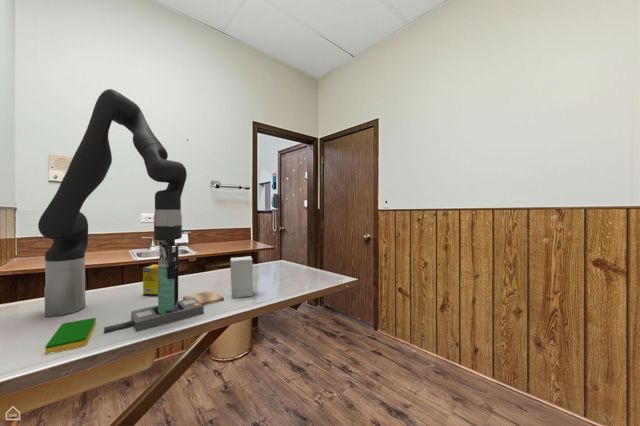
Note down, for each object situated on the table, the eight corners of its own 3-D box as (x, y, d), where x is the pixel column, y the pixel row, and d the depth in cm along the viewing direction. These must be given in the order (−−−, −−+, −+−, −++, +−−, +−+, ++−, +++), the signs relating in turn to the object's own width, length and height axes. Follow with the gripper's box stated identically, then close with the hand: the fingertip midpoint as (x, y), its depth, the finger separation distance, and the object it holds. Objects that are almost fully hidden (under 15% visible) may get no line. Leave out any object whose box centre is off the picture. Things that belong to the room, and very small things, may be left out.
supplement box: (157, 296, 97) (157, 268, 97) (142, 295, 98) (142, 267, 97) (167, 291, 103) (167, 264, 103) (153, 290, 103) (152, 264, 103)
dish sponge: (96, 325, 75) (96, 317, 74) (85, 347, 63) (85, 337, 63) (62, 331, 71) (62, 323, 71) (44, 356, 59) (44, 346, 59)
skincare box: (251, 291, 104) (252, 255, 104) (253, 296, 98) (253, 258, 98) (230, 293, 101) (230, 256, 101) (230, 299, 96) (230, 260, 95)
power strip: (105, 339, 66) (105, 328, 66) (103, 326, 73) (103, 316, 73) (203, 313, 82) (203, 304, 82) (194, 304, 90) (194, 296, 90)
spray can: (182, 314, 82) (182, 252, 81) (167, 321, 76) (166, 256, 76) (169, 311, 83) (169, 251, 83) (154, 318, 78) (153, 254, 78)
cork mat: (192, 308, 87) (192, 305, 86) (183, 299, 95) (183, 296, 95) (223, 300, 94) (223, 297, 94) (213, 292, 102) (213, 290, 102)
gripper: (149, 223, 82) (150, 273, 82) (159, 226, 71) (159, 283, 72) (175, 222, 87) (175, 269, 87) (187, 224, 76) (188, 278, 77)
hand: (168, 276), depth 80 cm, fingers open, 7 cm apart
